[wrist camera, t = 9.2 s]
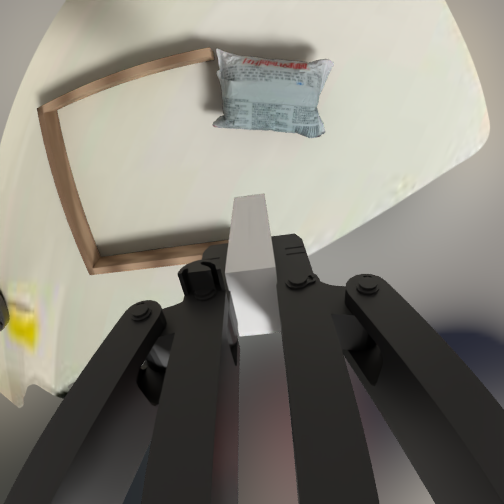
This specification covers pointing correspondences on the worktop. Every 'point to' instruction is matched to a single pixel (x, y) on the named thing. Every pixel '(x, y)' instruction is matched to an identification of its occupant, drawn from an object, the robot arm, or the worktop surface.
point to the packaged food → (271, 94)
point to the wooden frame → (68, 187)
